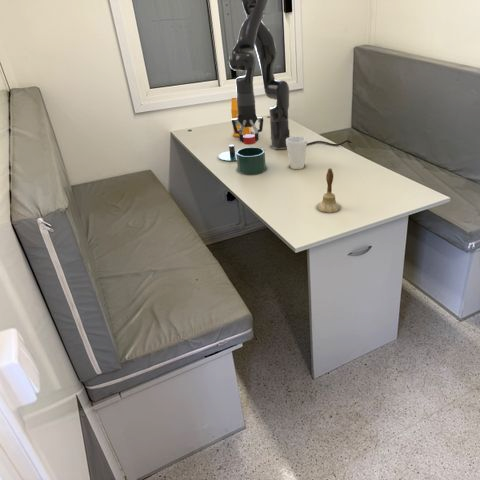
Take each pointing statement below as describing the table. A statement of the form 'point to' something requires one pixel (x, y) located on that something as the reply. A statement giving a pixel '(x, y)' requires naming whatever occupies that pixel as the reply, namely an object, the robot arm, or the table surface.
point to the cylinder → (249, 139)
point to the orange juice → (235, 115)
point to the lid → (229, 155)
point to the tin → (251, 160)
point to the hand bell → (329, 196)
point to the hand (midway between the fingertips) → (249, 141)
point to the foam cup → (296, 151)
